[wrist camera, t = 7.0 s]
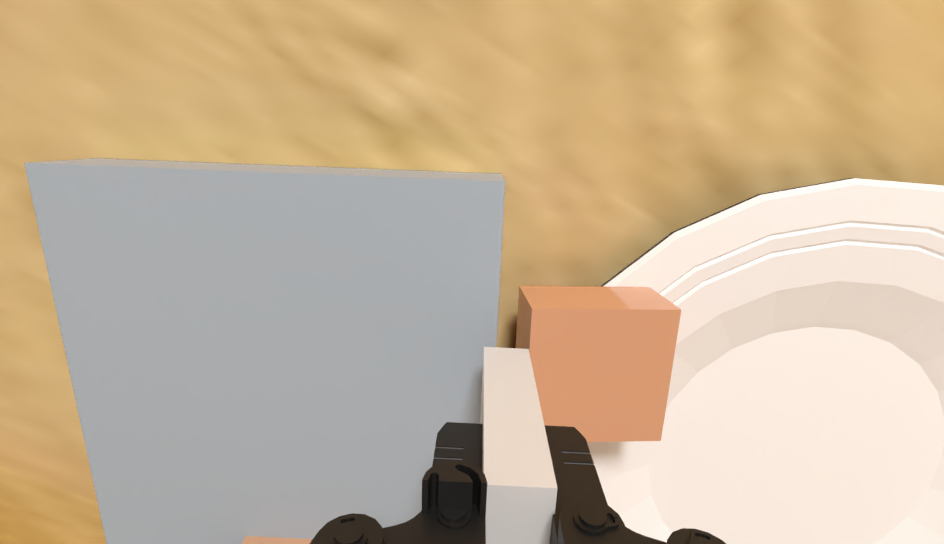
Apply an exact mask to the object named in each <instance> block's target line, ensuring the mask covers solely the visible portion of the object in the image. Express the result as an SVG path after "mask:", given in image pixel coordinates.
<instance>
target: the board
mask: <svg viewBox="0 0 944 544" xmlns="http://www.w3.org/2000/svg"><path fill="white" fill-rule="evenodd" d="M24 164H25V168H26V173H27V178H28V182H29V187H30V191H31V196H32V201H33V205H34V210H35V215H36V219H37V224H38V228H39V233H40V238H41V242H42V247H43V252H44V256H45V261H46V265H47V270H48V275H49V279H50V284H51V289H52V293H53V298H54V302H55V307H56V312H57V316H58V321H59V326H60V330H61V335H62V339H63V344H64V349H65V353H66V358H67V362H68V367H69V372H70V376H71V381H72V386H73V390H74V395H75V399H76V404H77V409H78V413H79V418H80V423H81V427H82V432H83V436H84V441H85V446H86V450H87V455H88V460H89V464H90V469H91V473H92V478H93V483H94V487H95V492H96V497H97V501H98V506H99V510H100V515H101V520H102V524H103V529H104V534H105V538H106V543H107V544H242V542H243V540H244V539H245V537H246V536H258V537H280V538H301V539H313V538H314V537H315V535H316V534H317V533H318V531H319V530H320V529H321V528H322V527H323V526H324V525H325V524H326V523H327V522H329V521H331V520H333V519H335V518H337V517H339V516H342V515H347V514H352V513H355V514H366V515H368V516H370V517H372V518H374V519H376V520H377V521H378V523H379V524H380V525H381V526H382V528H385V527H390V526H394V525H398V524H401V523H404V522H407V521H408V520H410V519H412V518H414V517H415V516H416V515H417V514H418V513H420V512H421V510H422V479H423V477H424V475H425V473H426V471H427V470H429V469H430V468H431V467H432V464H433V459H434V451H435V445H436V438H437V433H438V432H439V430H440V429H441V428H442V427H443V426H444V424H445V423H446V422H456V423H477V424H480V412H481V391H482V371H483V351H484V347H496V344H497V325H498V307H499V288H500V270H501V251H502V233H503V214H504V196H505V180H504V177H503V175H502V174H493V173H467V172H441V171H414V170H388V169H362V168H336V167H309V166H283V165H257V164H230V163H204V162H178V161H151V160H125V159H99V158H91V159H76V160H61V161H46V162H31V163H24Z"/></svg>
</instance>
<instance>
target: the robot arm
mask: <svg viewBox="0 0 944 544" xmlns="http://www.w3.org/2000/svg"><path fill="white" fill-rule="evenodd" d="M310 544H726V543H725V542H724V541H723V540H721V539H719V538H717V537H716V536H714V535H712V534H710V533H708V532H705V531H701V530H698V529H691V528H682V529H679V530H677V531H674V532H672V534H671V535H670V536H669V538H668V539H667V543H666V542H663V541H660V540H657V539H653V538H650V537H647V536H644V535H641V534H639V533H636V532H634V531H632V530H630V529H629V528H627V527H625V524H624V522H623V521H622V519H621V517H620V516H619V514H618V513H617V512H616V511H614V510H613V509H612V508H611V507H610V506H608V504H607V501H606V498H605V495H604V492H603V489H602V486H601V483H600V480H599V477H598V474H597V471H596V468H595V465H594V462H593V459H592V456H591V454H590V450H589V447H588V444H587V441H586V438H585V437H584V436H583V435H582V434H581V433H580V432H579V431H578V430H577V429H576V428H575V427H568V426H547V425H544V421H543V416H542V411H541V406H540V402H539V397H538V392H537V387H536V382H535V378H534V373H533V368H532V363H531V358H530V353H529V349H520V348H499V347H484V351H483V371H482V391H481V412H480V424H477V423H456V422H446V423H445V424H444V426H443V427H442V428H441V429H440V430H439V432H438V433H437V438H436V445H435V451H434V459H433V464H432V467H431V468H430V469H429V470H427V471H426V473H425V475H424V477H423V479H422V510H421V512H420V513H418V514H417V515H416V516H415V517H414V518H412V519H410V520H408V521H407V522H404V523H401V524H398V525H394V526H390V527H385V528H382V526H381V525H380V524H379V523H378V521H377V520H376V519H374V518H372V517H370V516H368V515H366V514H355V513H352V514H347V515H342V516H339V517H337V518H335V519H333V520H331V521H329V522H327V523H326V524H325V525H324V526H323V527H322V528H321V529H320V530H319V531H318V533H317V534H316V535H315V537H314V538H313V539H312V541H311V542H310Z"/></svg>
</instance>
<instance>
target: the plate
mask: <svg viewBox="0 0 944 544" xmlns="http://www.w3.org/2000/svg"><path fill="white" fill-rule="evenodd" d="M601 287H650V288H652V289H653V290H654V291H656V292H657V293H659V294H660V295H662V296H663V297H664V298H666V299H667V300H669V301H670V302H671V303H673V304H674V305H676V306H677V307H678V308H680V309H681V316H680V322H679V328H678V335H677V341H676V348H675V354H674V360H673V367H672V373H671V379H670V386H669V392H668V399H667V405H666V411H665V418H664V424H663V430H662V437H661V441H627V442H587V444H588V447H589V450H590V454H591V456H592V459H593V462H594V465H595V468H596V471H597V474H598V477H599V480H600V483H601V486H602V489H603V492H604V495H605V498H606V501H607V504H608V506H610V507H611V508H612V509H613V510H614V511H616V512H617V513H618V514H619V516H620V517H621V519H622V521H623V522H624V524H625V527H627V528H629V529H630V530H632V531H634V532H636V533H639V534H641V535H644V536H647V537H650V538H653V539H657V540H660V541H663V542H666V543H667V539H668V538H669V536H670V535H671V534H672V532H674V531H677V530H679V529H682V528H691V529H698V530H701V531H705V532H708V533H710V534H712V535H714V536H716V537H717V538H719V539H721V540H723V541H724V542H725V543H726V544H944V186H943V185H931V184H919V183H906V182H894V181H882V180H869V179H857V178H849V179H843V180H838V181H832V182H826V183H821V184H815V185H809V186H804V187H798V188H792V189H787V190H781V191H775V192H770V193H764V194H758V195H756V196H754V197H751V198H749V199H747V200H744V201H742V202H740V203H738V204H735V205H733V206H731V207H728V208H726V209H724V210H722V211H719V212H717V213H715V214H713V215H710V216H708V217H706V218H703V219H701V220H699V221H697V222H694V223H692V224H690V225H687V226H685V227H683V228H681V229H678V230H676V231H674V232H672V233H671V234H669V235H668V236H667V237H665V238H664V239H663V240H661V241H660V242H659V243H657V244H656V245H655V246H653V247H652V248H651V249H649V250H648V251H647V252H645V253H644V254H643V255H641V256H640V257H639V258H638V259H636V260H635V261H634V262H632V263H631V264H630V265H628V266H627V267H626V268H624V269H623V270H622V271H620V272H619V273H618V274H616V275H615V276H614V277H612V278H611V279H610V280H608V281H607V282H606V283H604V284H603V285H602V286H601Z"/></svg>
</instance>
